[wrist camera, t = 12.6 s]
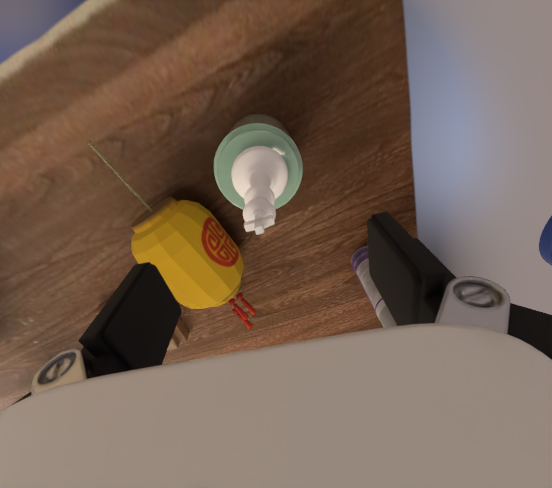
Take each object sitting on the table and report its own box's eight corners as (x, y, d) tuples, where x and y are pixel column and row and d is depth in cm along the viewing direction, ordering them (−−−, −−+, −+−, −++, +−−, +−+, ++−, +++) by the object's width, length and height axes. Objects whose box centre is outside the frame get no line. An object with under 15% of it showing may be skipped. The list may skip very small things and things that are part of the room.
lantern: (279, 352, 33) (74, 130, 18) (220, 360, 37) (14, 185, 22) (288, 292, 40) (150, 103, 26) (238, 304, 44) (95, 148, 30)
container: (383, 265, 40) (440, 349, 27) (353, 274, 40) (395, 360, 28) (379, 241, 37) (440, 321, 25) (347, 251, 38) (391, 334, 25)
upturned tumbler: (232, 103, 27) (221, 110, 20) (302, 127, 29) (318, 142, 21) (218, 174, 31) (205, 203, 24) (281, 192, 33) (287, 225, 25)
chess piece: (294, 193, 23) (312, 254, 15) (242, 207, 24) (232, 275, 15) (279, 138, 21) (291, 174, 12) (222, 155, 21) (197, 202, 13)
